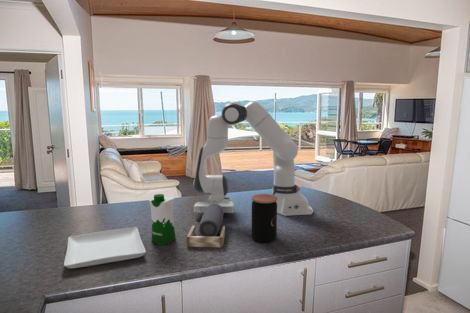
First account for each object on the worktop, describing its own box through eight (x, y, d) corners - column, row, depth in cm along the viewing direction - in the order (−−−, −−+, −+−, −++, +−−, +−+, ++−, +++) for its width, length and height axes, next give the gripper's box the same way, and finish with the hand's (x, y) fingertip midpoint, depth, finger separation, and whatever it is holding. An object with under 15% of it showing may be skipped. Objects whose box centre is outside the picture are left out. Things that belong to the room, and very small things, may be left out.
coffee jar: (275, 244, 132) (276, 201, 129) (249, 242, 134) (249, 200, 131) (277, 234, 142) (278, 194, 140) (253, 232, 145) (253, 193, 142)
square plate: (64, 275, 109) (63, 265, 108) (69, 244, 134) (68, 235, 133) (146, 260, 120) (146, 250, 119) (137, 233, 144) (136, 225, 144)
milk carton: (148, 242, 134) (146, 195, 131) (162, 234, 142) (160, 190, 139) (165, 246, 131) (164, 198, 127) (178, 238, 139) (177, 192, 136)
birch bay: (225, 234, 142) (225, 226, 142) (222, 247, 130) (222, 237, 129) (192, 234, 143) (192, 225, 142) (186, 246, 130) (186, 237, 130)
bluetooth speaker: (220, 242, 134) (219, 219, 133) (197, 241, 135) (197, 218, 133) (224, 222, 157) (224, 202, 155) (205, 222, 157) (205, 202, 156)
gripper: (195, 197, 170) (190, 206, 156) (234, 198, 169) (233, 206, 155) (196, 209, 171) (191, 218, 157) (234, 210, 170) (233, 219, 156)
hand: (212, 212), depth 156 cm, fingers closed, pressing on bluetooth speaker
